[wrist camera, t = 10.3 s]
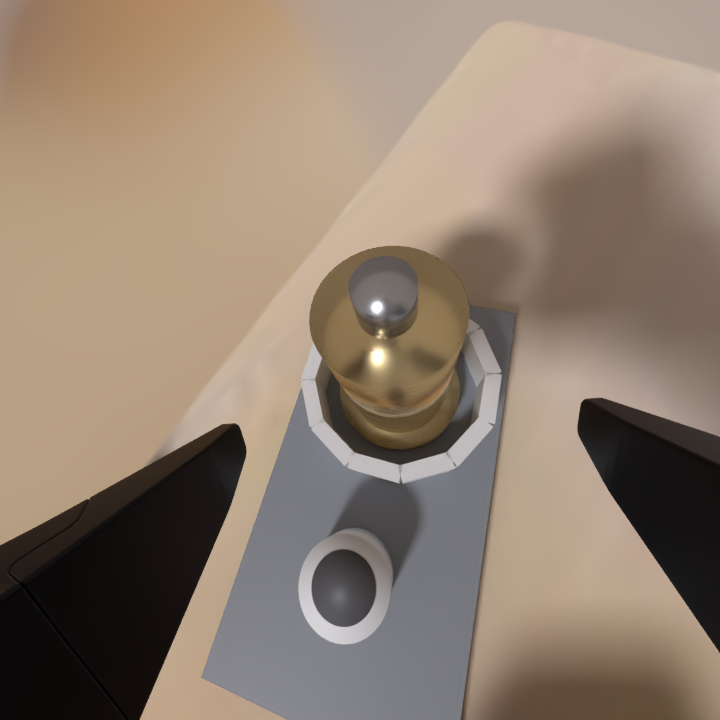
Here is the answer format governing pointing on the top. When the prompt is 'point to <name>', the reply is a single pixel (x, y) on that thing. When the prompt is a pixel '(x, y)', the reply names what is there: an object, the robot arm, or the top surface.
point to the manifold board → (423, 573)
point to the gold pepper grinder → (393, 342)
